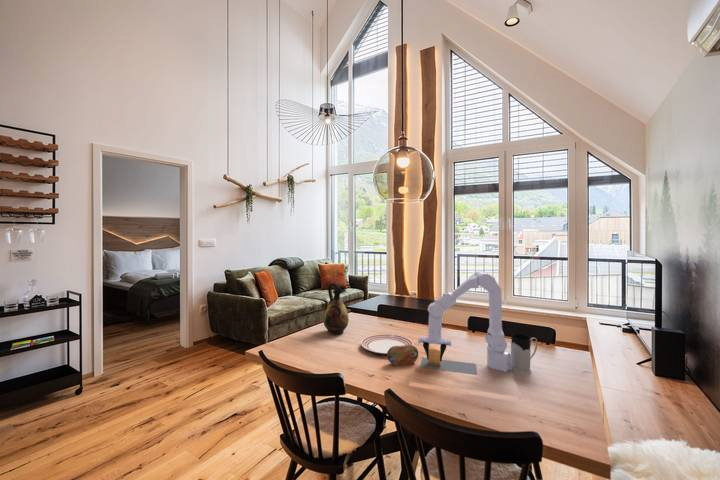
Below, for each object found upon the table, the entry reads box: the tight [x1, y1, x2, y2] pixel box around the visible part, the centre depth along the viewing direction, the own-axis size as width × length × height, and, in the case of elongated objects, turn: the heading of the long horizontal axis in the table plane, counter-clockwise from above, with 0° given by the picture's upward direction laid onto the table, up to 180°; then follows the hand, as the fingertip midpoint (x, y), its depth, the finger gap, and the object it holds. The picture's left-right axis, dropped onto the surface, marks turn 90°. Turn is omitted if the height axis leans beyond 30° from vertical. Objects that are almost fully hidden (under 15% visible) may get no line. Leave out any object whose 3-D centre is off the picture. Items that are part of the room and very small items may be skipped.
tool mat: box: [419, 357, 478, 376], centre depth 144 cm, size 24×12×6 cm, turn 74°
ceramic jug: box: [322, 282, 350, 336], centre depth 195 cm, size 17×15×30 cm
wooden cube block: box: [428, 345, 441, 366], centre depth 146 cm, size 5×5×7 cm
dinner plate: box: [360, 333, 414, 355], centre depth 170 cm, size 27×27×3 cm
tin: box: [386, 345, 419, 366], centre depth 150 cm, size 15×3×8 cm, turn 105°
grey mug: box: [510, 333, 538, 375], centre depth 144 cm, size 9×14×15 cm, turn 111°
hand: (434, 359), depth 146 cm, fingers closed on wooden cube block, 5 cm apart
